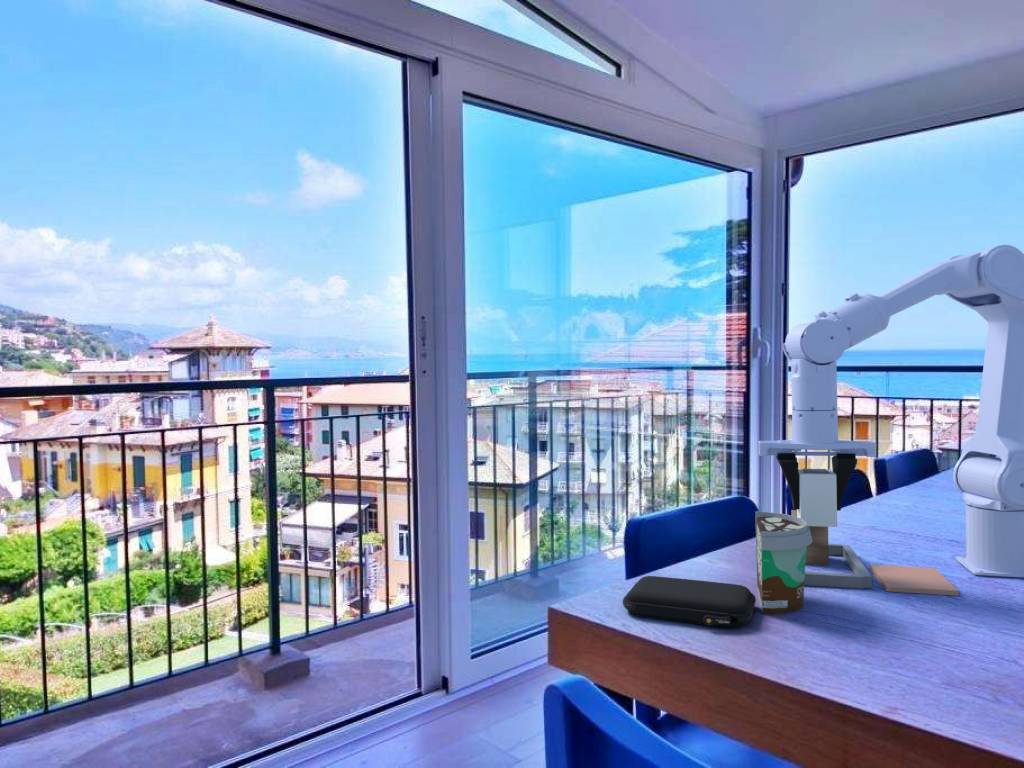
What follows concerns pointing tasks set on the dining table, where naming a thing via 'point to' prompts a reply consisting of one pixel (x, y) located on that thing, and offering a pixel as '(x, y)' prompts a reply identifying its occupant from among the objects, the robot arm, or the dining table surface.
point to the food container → (781, 561)
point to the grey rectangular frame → (842, 580)
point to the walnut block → (817, 545)
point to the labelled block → (817, 497)
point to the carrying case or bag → (691, 601)
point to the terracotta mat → (913, 580)
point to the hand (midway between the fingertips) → (816, 508)
